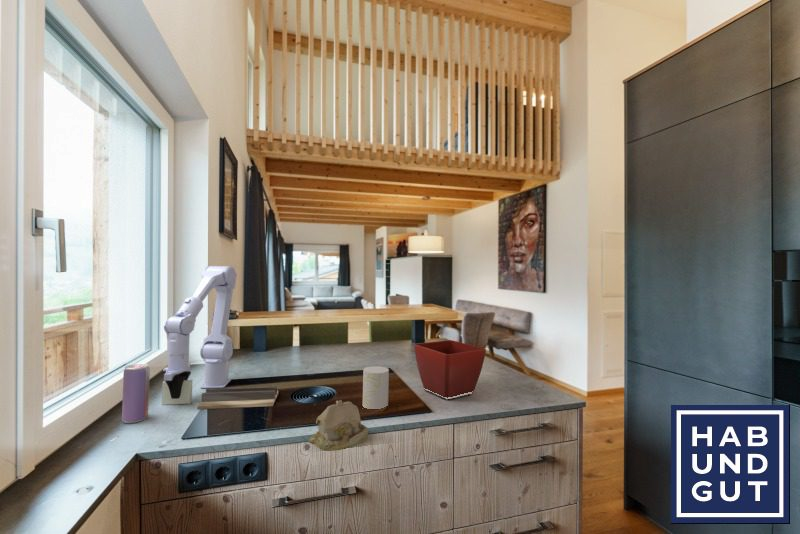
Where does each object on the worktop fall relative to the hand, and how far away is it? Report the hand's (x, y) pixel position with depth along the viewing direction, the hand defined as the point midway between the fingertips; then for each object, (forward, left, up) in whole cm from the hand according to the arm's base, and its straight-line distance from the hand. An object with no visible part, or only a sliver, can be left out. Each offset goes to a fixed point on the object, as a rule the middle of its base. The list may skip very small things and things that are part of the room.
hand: (177, 396), depth 114 cm
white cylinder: (+11, +62, -2) cm, 63 cm away
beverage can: (+12, -6, -2) cm, 14 cm away
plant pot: (0, +90, -2) cm, 90 cm away
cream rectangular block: (0, 0, -2) cm, 2 cm away
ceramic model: (+31, +50, -2) cm, 59 cm away
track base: (0, +19, -2) cm, 19 cm away
